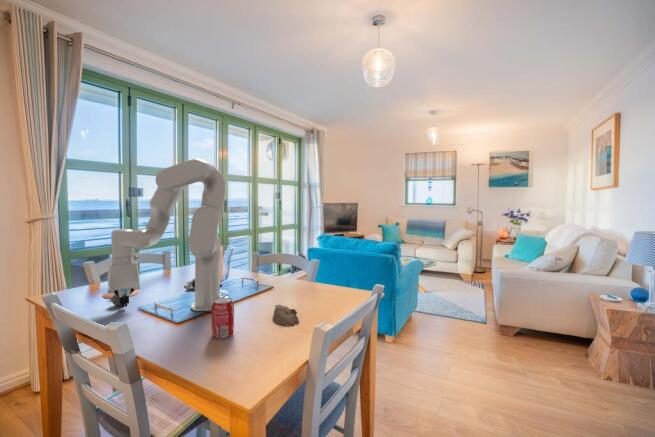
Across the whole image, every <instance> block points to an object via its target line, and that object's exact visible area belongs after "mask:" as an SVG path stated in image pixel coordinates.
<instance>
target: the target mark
mask: <svg viewBox="0 0 655 437" xmlns="http://www.w3.org/2000/svg"><path fill="white" fill-rule="evenodd" d="M139 293H140V289H138V290H136V291H133V292H132V293H131V294H130V296H129V298H130V297H133V296H136V295H138V294H139ZM114 295H115V294H110V293H108V291H107V292H106V293H105V292H104V294H102V298H103V299H107V300H112V297H113V296H114Z"/></svg>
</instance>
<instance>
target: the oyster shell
mask: <svg viewBox="0 0 655 437" xmlns="http://www.w3.org/2000/svg"><path fill="white" fill-rule="evenodd" d="M297 314H298V312H297V310H296V308H295V309H294V308H289V307H288V306H287V305H282V304H276V305H275V304H274V311H273V316H272V322H273V321H274V322H273V323H274V324H277V323H278V325H280V324H286V325H285V326H287V325H290V326H292V325H293V326H296V325H295V324H298V325H299V324H300V320H299V317H298V316H297Z"/></svg>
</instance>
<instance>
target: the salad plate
mask: <svg viewBox="0 0 655 437" xmlns="http://www.w3.org/2000/svg"><path fill="white" fill-rule="evenodd" d="M222 285H223V283H222V284H220V287H221V286H222ZM184 286H185V289H186V290H188V291H193V292H195V277H194V278H192V280H191V281H186V282H185V283H184Z"/></svg>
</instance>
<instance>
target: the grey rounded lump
mask: <svg viewBox="0 0 655 437" xmlns="http://www.w3.org/2000/svg"><path fill="white" fill-rule="evenodd" d="M122 294H123V295H125V293H124V292H122ZM111 302H112V304H113V305H114V306H116V307H117V306H118V307H121V306H122V304H121V305H120V297H119V296H118V295H116V294H115V295H114V296H113V297H112V299H111ZM124 305H125V302H124Z"/></svg>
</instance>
